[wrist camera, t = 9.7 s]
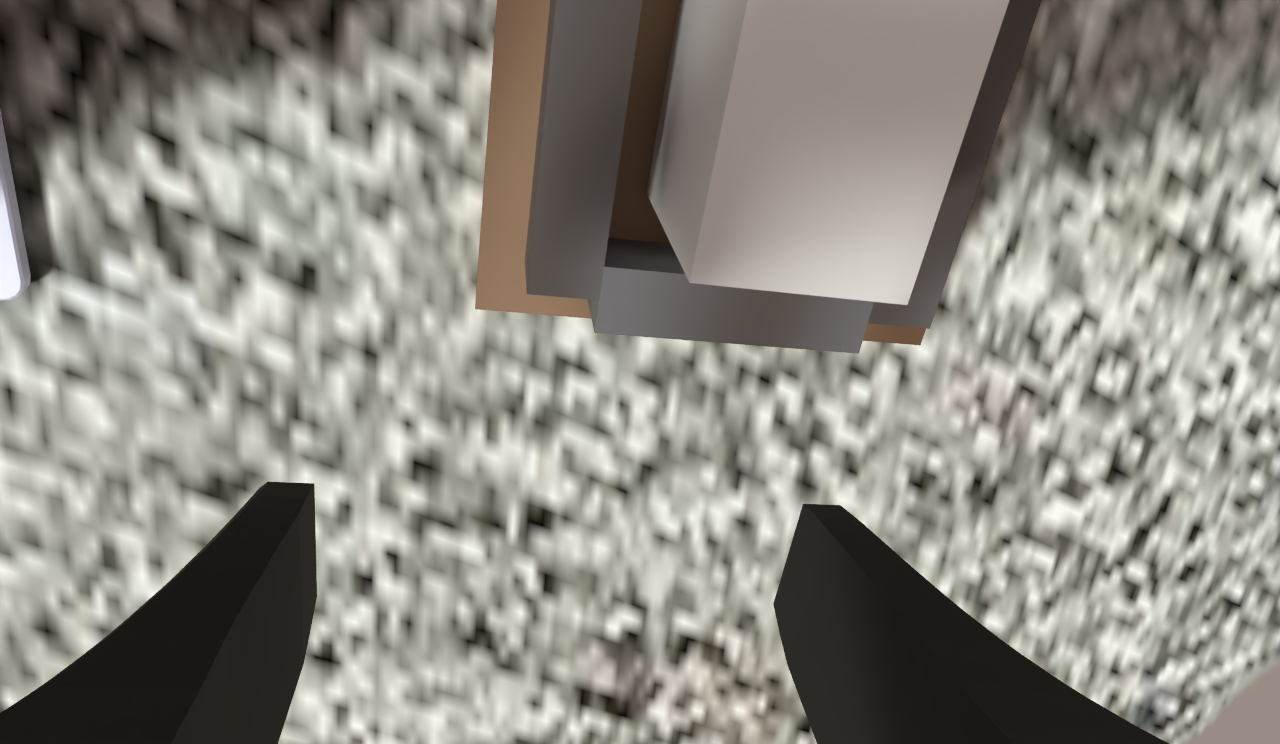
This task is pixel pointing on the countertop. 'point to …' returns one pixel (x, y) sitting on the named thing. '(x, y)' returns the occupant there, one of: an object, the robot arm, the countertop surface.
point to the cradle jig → (618, 178)
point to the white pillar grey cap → (815, 138)
